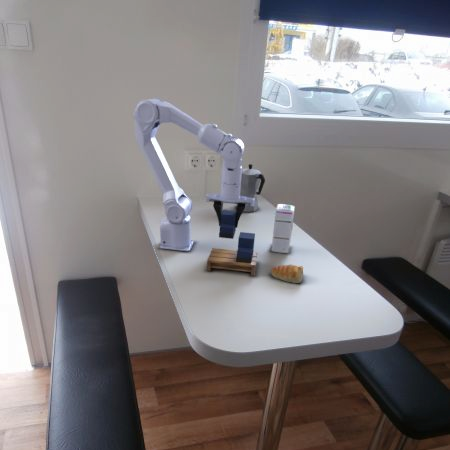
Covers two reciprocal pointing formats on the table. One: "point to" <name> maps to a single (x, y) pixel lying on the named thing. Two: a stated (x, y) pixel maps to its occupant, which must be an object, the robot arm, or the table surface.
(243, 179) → the coffeepot
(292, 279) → the pastry
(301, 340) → the table surface
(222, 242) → the table surface
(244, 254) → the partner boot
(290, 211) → the syrup box
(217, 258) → the shoe rack
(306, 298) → the table surface
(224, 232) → the blue block
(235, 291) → the table surface
